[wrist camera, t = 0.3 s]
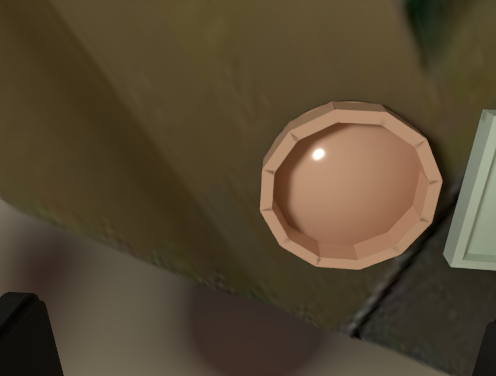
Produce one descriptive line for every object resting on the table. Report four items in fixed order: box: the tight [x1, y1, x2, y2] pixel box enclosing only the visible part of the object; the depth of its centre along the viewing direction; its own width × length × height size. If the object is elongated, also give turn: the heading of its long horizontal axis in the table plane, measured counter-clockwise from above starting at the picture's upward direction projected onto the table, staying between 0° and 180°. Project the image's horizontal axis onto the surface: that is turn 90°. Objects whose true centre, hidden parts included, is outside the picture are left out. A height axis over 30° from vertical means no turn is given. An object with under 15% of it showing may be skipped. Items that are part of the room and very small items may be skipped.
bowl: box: [260, 100, 442, 270], centre depth 44 cm, size 17×17×4 cm
